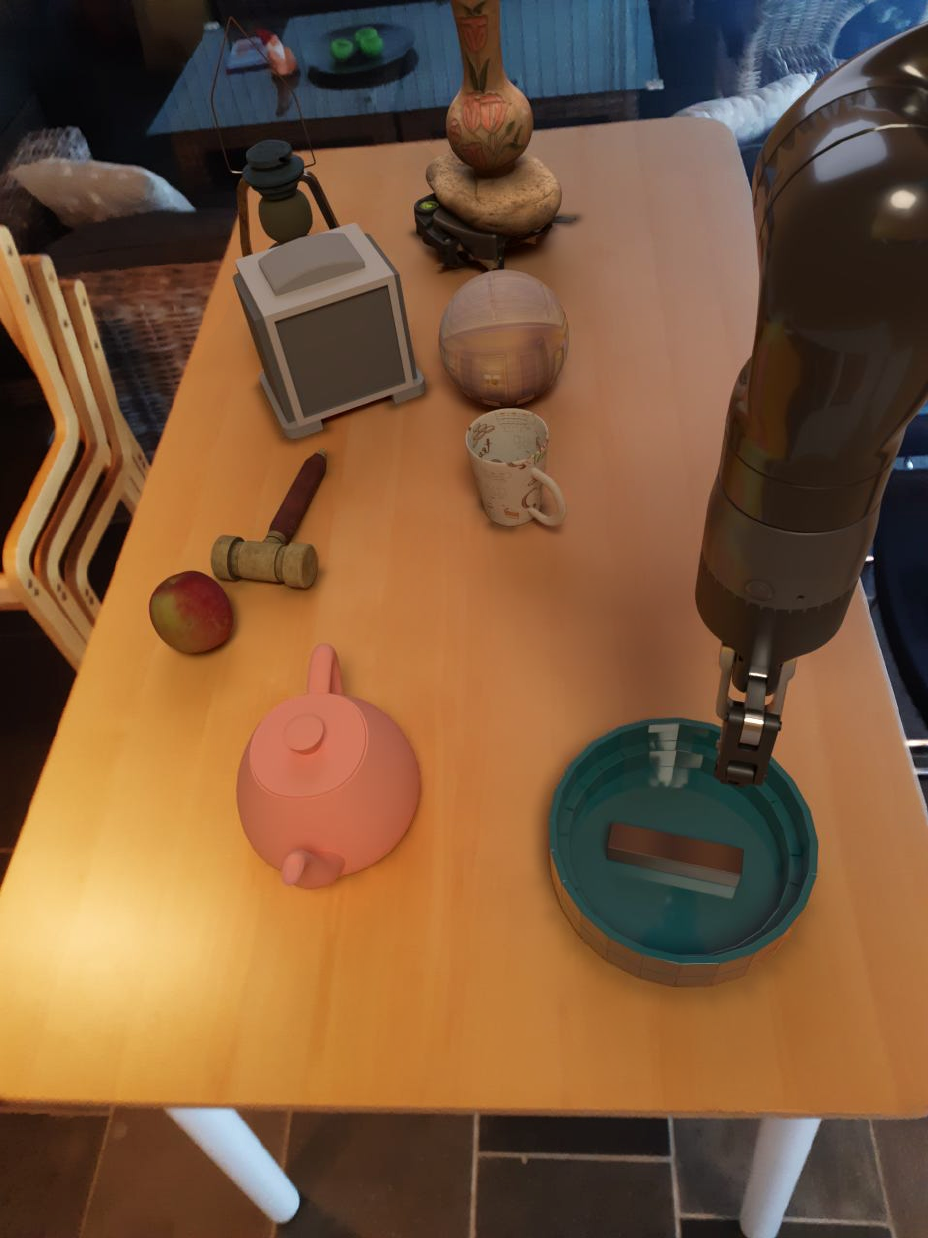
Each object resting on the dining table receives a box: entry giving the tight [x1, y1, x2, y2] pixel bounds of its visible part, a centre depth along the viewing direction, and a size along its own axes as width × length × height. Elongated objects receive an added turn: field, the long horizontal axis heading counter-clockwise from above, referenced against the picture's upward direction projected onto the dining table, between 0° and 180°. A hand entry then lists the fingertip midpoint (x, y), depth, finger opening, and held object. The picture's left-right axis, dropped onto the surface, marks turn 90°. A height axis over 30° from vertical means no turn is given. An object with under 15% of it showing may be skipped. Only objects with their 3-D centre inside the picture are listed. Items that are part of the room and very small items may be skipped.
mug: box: [464, 408, 568, 527], centre depth 90 cm, size 8×13×10 cm, turn 43°
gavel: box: [210, 447, 328, 589], centre depth 96 cm, size 21×5×10 cm
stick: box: [606, 822, 744, 887], centre depth 68 cm, size 10×2×2 cm, turn 75°
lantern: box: [209, 16, 341, 258], centre depth 111 cm, size 14×12×35 cm
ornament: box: [438, 269, 570, 407], centre depth 101 cm, size 15×15×15 cm
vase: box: [413, 0, 577, 272], centre depth 116 cm, size 24×22×35 cm
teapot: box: [235, 643, 421, 890], centre depth 70 cm, size 22×15×12 cm
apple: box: [148, 570, 234, 654], centre depth 85 cm, size 8×8×8 cm
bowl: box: [548, 717, 819, 988], centre depth 67 cm, size 19×19×6 cm
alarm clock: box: [232, 221, 427, 440], centre depth 104 cm, size 18×13×18 cm
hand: (738, 717), depth 55 cm, fingers open, 8 cm apart
